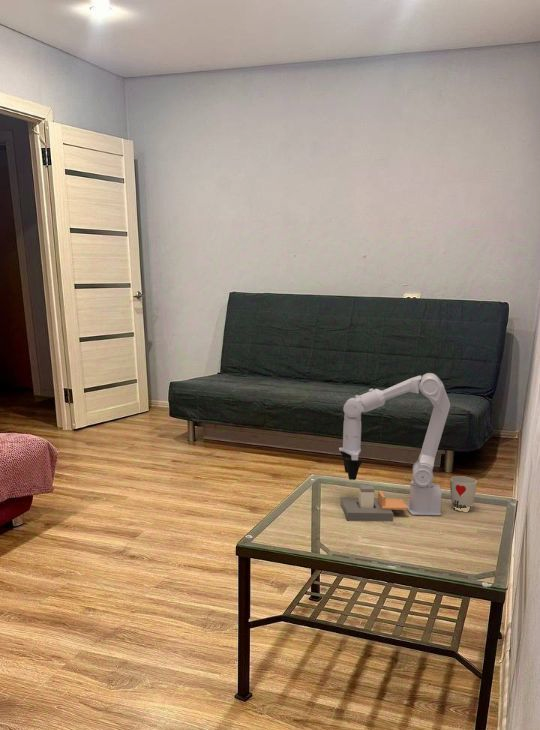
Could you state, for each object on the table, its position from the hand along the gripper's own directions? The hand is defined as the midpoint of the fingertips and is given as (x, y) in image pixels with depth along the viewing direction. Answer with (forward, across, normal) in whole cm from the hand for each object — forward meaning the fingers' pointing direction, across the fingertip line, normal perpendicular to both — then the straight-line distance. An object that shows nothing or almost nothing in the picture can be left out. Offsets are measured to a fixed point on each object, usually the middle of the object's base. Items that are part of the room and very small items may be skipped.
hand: (350, 475), depth 194 cm
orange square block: (+7, +8, +12) cm, 16 cm away
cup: (+10, +4, +36) cm, 37 cm away
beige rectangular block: (+9, +8, +4) cm, 13 cm away
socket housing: (+9, +8, +4) cm, 13 cm away
